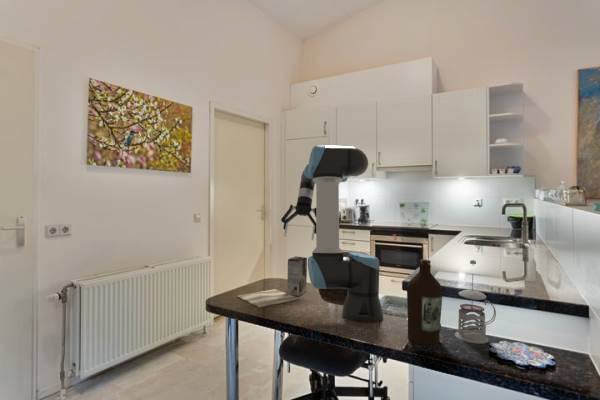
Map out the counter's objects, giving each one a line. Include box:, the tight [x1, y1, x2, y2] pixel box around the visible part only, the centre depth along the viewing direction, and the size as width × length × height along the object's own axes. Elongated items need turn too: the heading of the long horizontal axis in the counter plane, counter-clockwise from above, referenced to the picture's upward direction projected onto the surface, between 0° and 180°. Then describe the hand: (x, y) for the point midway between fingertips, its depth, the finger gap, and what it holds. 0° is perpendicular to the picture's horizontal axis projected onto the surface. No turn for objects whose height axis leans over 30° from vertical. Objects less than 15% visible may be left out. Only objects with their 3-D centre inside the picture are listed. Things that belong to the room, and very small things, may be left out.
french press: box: [454, 259, 497, 344], centre depth 111 cm, size 10×12×25 cm
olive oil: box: [406, 259, 443, 346], centre depth 109 cm, size 11×11×25 cm
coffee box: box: [286, 256, 308, 297], centre depth 159 cm, size 9×6×16 cm
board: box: [236, 288, 300, 308], centre depth 149 cm, size 18×20×1 cm
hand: (298, 237), depth 169 cm, fingers open, 13 cm apart
